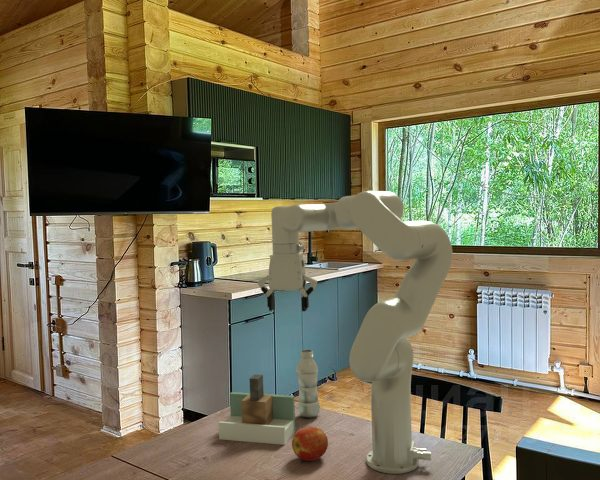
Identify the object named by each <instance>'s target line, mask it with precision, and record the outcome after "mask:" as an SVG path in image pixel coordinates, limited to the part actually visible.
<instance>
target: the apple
mask: <svg viewBox="0 0 600 480" xmlns="http://www.w3.org/2000/svg"><path fill="white" fill-rule="evenodd" d="M328 445H329V440H328V437H327V434H326V433H325V431H323V430H322V429H320V428H318V427H316V426H305V427H302V428H301V429H299V430H297V431H296V433H294V434H293V438H292V440H291V447H292V451H293V453H294V454H295V456H296V457H297V458H299V459H300V460H303V461H306V462H312V461H313V462H314V461H317V460H318V459H320V458H321V457H322V456H323V455H325V453H326V451H327V450H328Z"/></svg>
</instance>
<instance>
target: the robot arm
mask: <svg viewBox="0 0 600 480" xmlns="http://www.w3.org/2000/svg"><path fill="white" fill-rule="evenodd" d="M404 208H405V207H404V203H403V201H402V199H401V197H399V196H398V195H397V193H394V192H392V191H386V190H385V191H384V190H366V191H365V190H364V191H360V192H359V193H357V194H355V195H346V196H342V197H340V199H338V201H336V202H330V203H303V204H301V203H299V204H298V203H297V204H292V205H278V206H273V208H272V209H271V235H272V236H271V237H272V238H271V240H272V241H271V242H272V254H271V255H270V258H269V266H268V275H266V276H265V277H262V278H261V279H259V280H257V285H258V286H259V288H260V290H261V292H262V293H263V294H264V296H265V297H266V298H267V301H266V302H267V303H266V304H267V308H268V311H269V312H272V311H273V310H274V311H275V309H276V304H275V302H276V301H275V300H276V299H275V295H274V293H275V292H276V291H299V293H301V295H302V296H301V311H302V312H306V311H307V310H308V309H309V307H310V306H309V305H310V303H309V301H310V300H309V296H310V295H311V294H312V293H313V292H314V290H315V289H316V287H317V284H318V280H316V279H315V278H313V277H311V276H309V275H307V272H306V267H305V259H304V255H303V253H301V251H304V250H305V246H304V245H302V244H300V233H308V232H322V231H323V232H325V231H334V230H345V231H350V230H359V231H360V232H361V233H362V234H363V235H364V236H365V237H366V238H367V239H368V240H369V241H370V242H372V243H373V244H374V246H376V247H377V248H378V249H379V250H380V251H381V252H382V253H383V254H384V255H385V256H387V257H388V258H390V259H392V260H396V261H408V260H414V262H413V264H412V265H411V266H410V268H409V269H408V270H407V272H406V273H405V274H404V277H403V279H402V281H401V283H400V286H399V288H398V290H397V292H396V293H395V294H394V296H393V297H391V298H389V299H386V300H382V301H379V302H377V303H375V304H374V305H373V306H372V307H371V308H370V309H368V311H367V312H366V314H365V316H364V318H363V320H362V323H361V325H360V327H359V328H358V329H359V330H358V332H357V335H356V337H355V338H354V341H353V344H352V346H351V349H350V351H349V357H348V359H349V360H348V361H349V368H350V370H351V372H352V375H354V377H355V378H357V379H358V380H359V381H361V382H364V383H371V385H370V398H371V399H370V404H371V405H370V407H371V408H370V409H371V410H370V411H371V440H372V441H371V445H372V448H371V449H372V450H371V451H369V452H368V453H367V454H366V459H365V460H366V464H367V465H368V467H370V468H371V469H373V470H374V471H376V472H380V473H382V474H383V473H384V474H388V475H389V474H393V475H394V474H395V475H398V474H399V475H400V474H407V473H410V472H413V471H414V470H416V469H417V468H418V466H419V464H420V460H423V461H431V462H432V452H431V451H427V448H425V447H424V448H423V447H422V448H421V447H420V448H419V447H417V446H415V441H414V440H413V439H412V438H413V437H412V435H413V434H412V408H411V407H412V404H411V402H412V392H411V390H412V389H411V386H412V385H411V384H412V383H411V382H412V374H413V373H412V371H413V364H414V349H413V346H412V344H411V342H410V341H409V339H408V338H411V337H413V336H415V335H417V334H418V333H420V331H422V329H423V328H424V325H425V323H426V321H427V319H428V316H429V315H430V312H431V310H432V309H433V306H434V304H435V302H436V299H437V297H438V295H439V294H440V293H439V292H440V290H441V288H442V286H443V285H444V282H445V280H446V278H447V277H448V274H449V272H450V268H451V267H452V262H453V246H452V243H451V240H450V237H449V235H448V234H447V231H446V230H444V228H443V227H441V226H440V225H439V224H437V223H436V222H432V221H429V220H410V221H409V220H407V221H403V220H401V219H402V217H403V215H404V210H405V209H404ZM266 282H268V287H269V288H268V287H267V286H266V285H265V283H266ZM307 283H310V286H309V288H308V289H307V288H306V287H307Z"/></svg>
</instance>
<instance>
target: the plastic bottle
mask: <svg viewBox="0 0 600 480" xmlns="http://www.w3.org/2000/svg"><path fill="white" fill-rule="evenodd" d="M300 358H301V359H300V360H299V362H298V363H297V365H296V376H297V380H298V389H299V390H298V403H297V404H298V405H297V410H298V414H299V415H300V416H301V417H302V418H315V417H318V416H319V414H320V410H321V407H320V406H321V405H320V401H319V394H318V386H317V385H318V372H319V367H318V363H316V361H315V360H314V359H313V358H314V351H313V350H312V349H302V350H300Z"/></svg>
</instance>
